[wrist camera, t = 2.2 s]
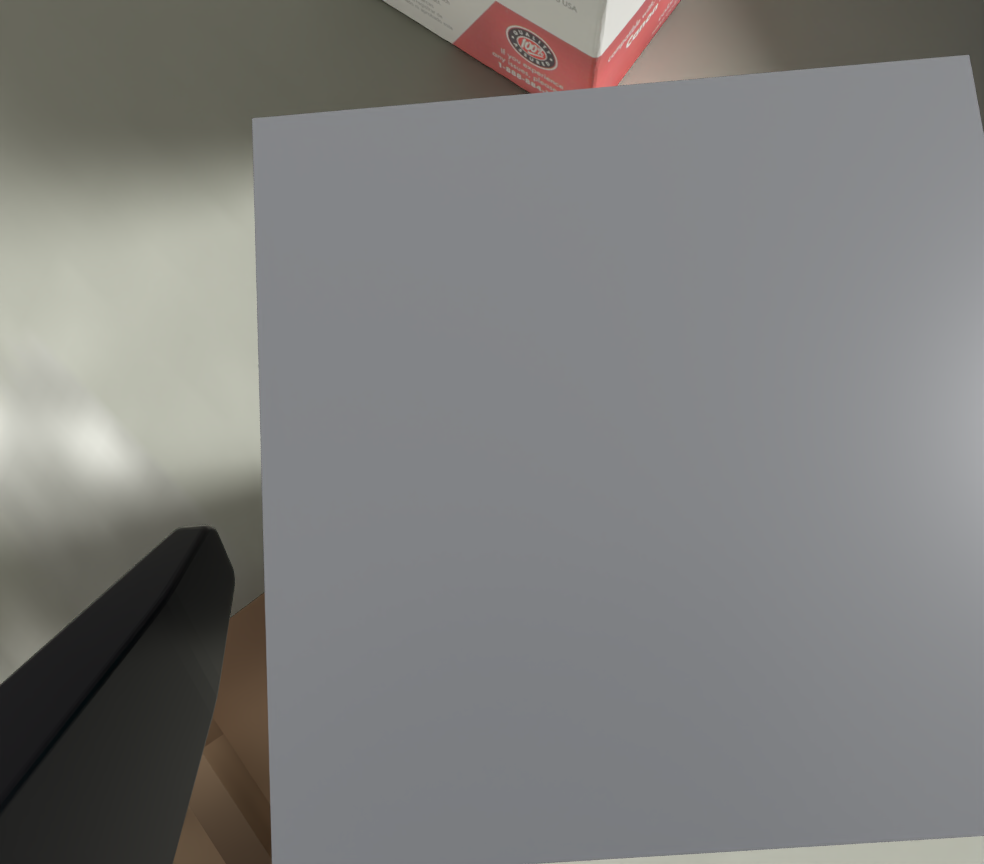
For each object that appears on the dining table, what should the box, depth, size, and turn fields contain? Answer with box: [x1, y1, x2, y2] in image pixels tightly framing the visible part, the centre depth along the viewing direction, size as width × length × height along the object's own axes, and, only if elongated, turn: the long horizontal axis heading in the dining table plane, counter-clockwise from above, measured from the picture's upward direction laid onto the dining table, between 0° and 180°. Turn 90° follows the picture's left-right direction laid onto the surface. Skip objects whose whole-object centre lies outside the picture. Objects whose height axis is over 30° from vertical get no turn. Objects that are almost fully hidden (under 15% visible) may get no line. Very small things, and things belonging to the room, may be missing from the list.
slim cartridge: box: [252, 55, 984, 864], centre depth 11 cm, size 4×4×14 cm
